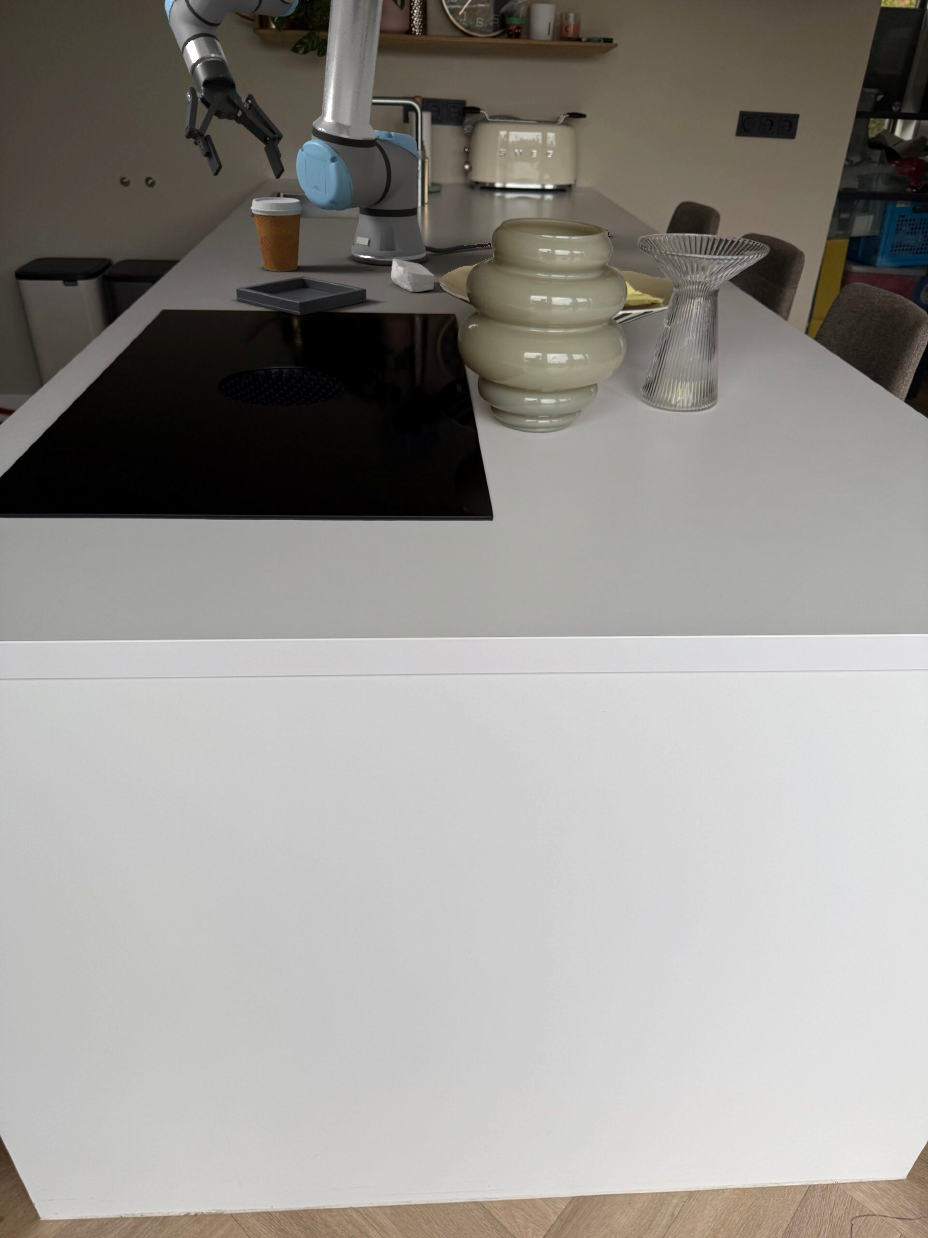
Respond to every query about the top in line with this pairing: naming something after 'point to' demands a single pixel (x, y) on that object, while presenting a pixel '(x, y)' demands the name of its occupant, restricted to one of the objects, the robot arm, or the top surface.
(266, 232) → the disposable coffee cup
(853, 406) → the top surface
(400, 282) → the white rock
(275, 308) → the pad
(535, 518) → the top surface
